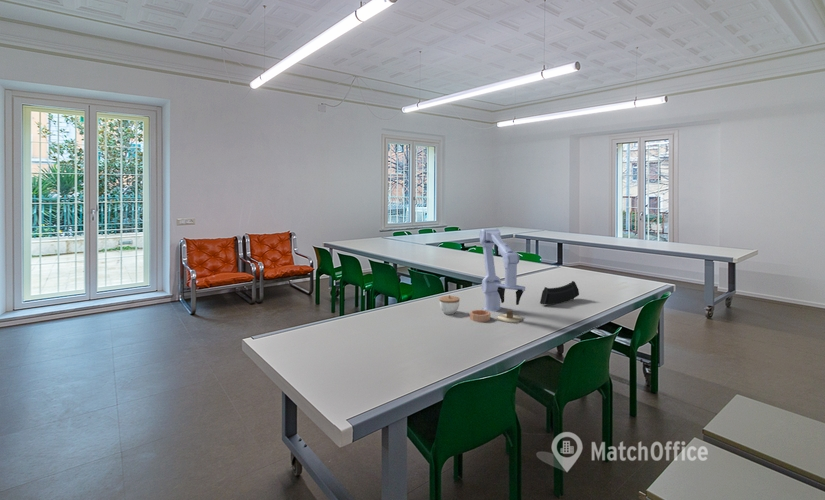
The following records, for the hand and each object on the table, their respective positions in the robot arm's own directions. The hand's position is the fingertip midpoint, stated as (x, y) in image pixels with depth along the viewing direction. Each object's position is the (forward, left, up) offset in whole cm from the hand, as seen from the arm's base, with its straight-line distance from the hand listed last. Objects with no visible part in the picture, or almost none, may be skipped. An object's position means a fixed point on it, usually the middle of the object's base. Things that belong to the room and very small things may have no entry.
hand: (510, 303), depth 214 cm
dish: (+7, -13, -8) cm, 17 cm away
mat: (0, 0, -8) cm, 8 cm away
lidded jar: (+4, -32, -9) cm, 33 cm away
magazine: (-48, +13, -9) cm, 50 cm away
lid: (0, 0, -8) cm, 8 cm away
